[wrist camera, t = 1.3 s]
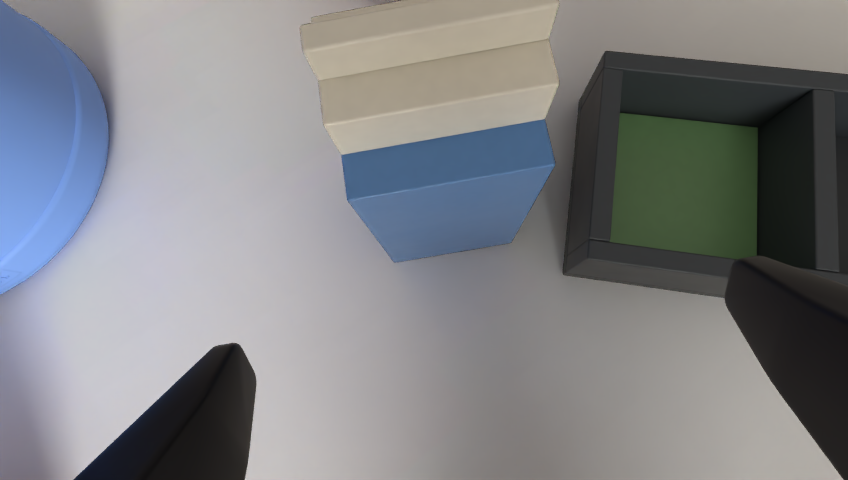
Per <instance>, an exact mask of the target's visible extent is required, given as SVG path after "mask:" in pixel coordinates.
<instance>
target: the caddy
mask: <svg viewBox="0 0 848 480" xmlns="http://www.w3.org/2000/svg"><path fill="white" fill-rule="evenodd" d="M751 256H765V257H768V258H770V259H773V260H776V261H779V262H782V263H785V264H787V265H790V266H793V267H796V268H799V269H802V270H805V271H807V272H810V273H813V274H816V275H819V276H822V277H825V278H827V279H830V280H833V281H836V282H839V283H842V284H844V285H847V286H848V74H840V73H830V72H820V71H809V70H799V69H789V68H778V67H768V66H758V65H747V64H737V63H726V62H716V61H706V60H695V59H685V58H675V57H664V56H654V55H644V54H633V53H623V52H613V51H605V52H604V54H603V56H602V58H601V60H600V62H599V64H598V66H597V68H596V70H595V72H594V73H593V75H592V77H591V79H590V81H589V83H588V85H587V87H586V89H585V91H584V93H583V95H582V97H581V98H580V100H579V107H578V118H577V128H576V139H575V149H574V160H573V170H572V181H571V191H570V202H569V212H568V223H567V233H566V244H565V254H564V265H563V275H567V276H574V277H581V278H588V279H595V280H602V281H609V282H616V283H623V284H630V285H637V286H644V287H651V288H658V289H665V290H672V291H679V292H686V293H693V294H700V295H707V296H714V297H721V298H725V291H726V287H727V283H728V279H729V274H730V270H731V266H732V264H733V263H734V261H735V260H737V259H740V258H745V257H751Z"/></svg>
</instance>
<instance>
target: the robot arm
mask: <svg viewBox="0 0 848 480" xmlns="http://www.w3.org/2000/svg"><path fill="white" fill-rule="evenodd" d="M725 303H726V306H727V308H728V310H729V312H730V313H731V315H732V317H733V318H734V320H735V322H736V323H737V325H738V327H739V329H740V330H741V332H742V334H743V335H744V337H745V339H746V340H747V342H748V344H749V345H750V347H751V349H752V351H753V352H754V354H755V356H756V357H757V359H758V361H759V362H760V364H761V366H762V367H763V369H764V371H765V372H766V374H767V375H768V377H769V378H770V380H771V382H772V383H773V384H774V386H775V387H776V389H777V390H778V392H779V393H780V394H781V396H782V397H783V398H784V400H785V401H786V402H787V404H788V405H789V407H790V408H791V409H792V411H793V412H794V413H795V415H796V416H797V417H798V419H799V420H800V421H801V423H802V424H803V425H804V427H805V428H806V429H807V431H808V432H809V434H810V435H811V436H812V438H813V439H814V440H815V442H816V443H817V444H818V446H819V447H820V448H821V450H822V451H823V452H824V454H825V455H826V456H827V458H828V459H829V460H830V462H831V463H832V465H833V466H834V467H835V469H836V470H837V471H838V473H839V474H840V475H841V477H842V478H843V479H844V480H848V286H847V285H844V284H842V283H839V282H836V281H833V280H830V279H827V278H825V277H822V276H819V275H816V274H813V273H810V272H807V271H805V270H802V269H799V268H796V267H793V266H790V265H787V264H785V263H782V262H779V261H776V260H773V259H770V258H768V257H765V256H751V257H745V258H740V259H737V260H735V261H734V263H733V264H732V266H731V270H730V274H729V279H728V283H727V287H726V291H725ZM255 393H256V376H255V373H254V370H253V368H252V366H251V365H250V363H249V361H248V359H247V357H246V355H245V353H244V351H243V349H242V348H241V346H240V345H239V344H237V343H230V344H224V345H218V346H215V347H213V348H212V349H211V350H210V351H209V352H208V353H207V354H206V355H204V356H203V357H202V358H201V359H200V360H199V361H198V362H197V363H196V364H195V365H194V366H193V367H192V368H191V369H190V370H189V371H188V372H187V373H185V374H184V375H183V376H182V377H181V378H180V379H179V380H178V381H177V382H176V383H175V384H174V385H173V386H172V387H171V388H170V389H169V390H168V391H166V392H165V393H164V394H163V395H162V396H161V397H160V398H159V399H158V400H157V401H156V402H155V403H154V404H153V405H152V406H151V407H150V408H149V409H148V410H146V411H145V412H144V413H143V414H142V415H141V416H140V417H139V418H138V419H137V420H136V421H135V422H134V423H133V424H132V425H131V426H130V427H129V428H127V429H126V430H125V431H124V432H123V433H122V434H121V435H120V436H119V437H118V438H117V439H116V440H115V441H114V442H113V443H112V444H111V445H110V446H108V447H107V448H106V449H105V450H104V451H103V452H102V453H101V454H100V455H99V456H98V457H97V458H96V459H95V460H94V461H93V462H92V463H91V464H89V465H88V466H87V467H86V468H85V469H84V470H83V471H82V472H81V473H80V474H79V475H78V476H77V477H76V478H75V479H74V480H245V475H246V470H247V465H248V457H249V449H250V440H251V431H252V421H253V412H254V402H255Z"/></svg>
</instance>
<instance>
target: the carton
mask: <svg viewBox="0 0 848 480" xmlns="http://www.w3.org/2000/svg"><path fill="white" fill-rule="evenodd" d="M559 4H560V3H559V0H402V1H396V2H391V3H386V4H380V5H375V6H369V7H364V8H359V9H353V10H348V11H342V12H337V13H332V14H326V15H321V16H315V17H312V18H311V23H309V24H304V25H301V26H300V35H301V44H302V51H303V53H304V55H305V57H306V59H307V61H308V63H309V65H310V67H311V68H312V70H313V72H314V74H315V76H316V78H317V79H318V86H319V94H320V102H321V110H322V119H323V125H324V127H325V128H326V130H327V132H328V133H329V135H330V137H331V138H332V140H333V142H334V143H335V145H336V147H337V148H338V150H339V152H340V153H341V156H342V164H343V172H344V179H345V187H346V195H347V200H348V202H349V203H350V204H351V206H352V207H353V208H354V210H355V211H356V212H357V214H358V215H359V216H360V218H361V219H362V220H363V222H364V223H365V224H366V226H367V227H368V228H369V230H370V231H371V232H372V234H373V235H374V236H375V238H376V239H377V240H378V242H379V243H380V244H381V246H382V247H383V248H384V250H385V251H386V252H387V254H388V255H389V256H390V258H391V259H392V260H393V262H401V261H407V260H413V259H419V258H425V257H431V256H437V255H443V254H449V253H454V252H460V251H466V250H472V249H478V248H484V247H490V246H496V245H502V244H508V243H511V242H512V240H513V239H514V237H515V235H516V233H517V232H518V230H519V228H520V226H521V225H522V223H523V221H524V219H525V218H526V216H527V214H528V212H529V210H530V209H531V207H532V205H533V203H534V202H535V200H536V198H537V196H538V195H539V193H540V191H541V189H542V188H543V186H544V184H545V182H546V181H547V179H548V177H549V175H550V173H551V172H552V170H553V168H554V166H555V159H554V155H553V151H552V147H551V142H550V138H549V134H548V130H547V126H546V122H545V118H546V116H547V113H548V111H549V108H550V106H551V103H552V101H553V98H554V96H555V93H556V91H557V89H558V86H559V83H560V82H559V78H558V74H557V70H556V66H555V62H554V58H553V54H552V50H551V47H550V43H549V39H548V38H549V37H550V34H551V31H552V27H553V24H554V21H555V18H556V14H557V11H558V8H559Z"/></svg>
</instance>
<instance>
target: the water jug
mask: <svg viewBox="0 0 848 480" xmlns="http://www.w3.org/2000/svg"><path fill="white" fill-rule="evenodd" d="M108 144H109V131H108V120H107V114H106V109H105V105H104V101H103V98H102V95H101V93H100V90H99V88H98V86H97V84H96V82H95V80H94V78H93V76H92V75H91V73H90V72H89V70H88V69H87V67H86V66H85V65H84V63H83V62H82V61H81V60H80V59H79V57H78V56H77V55H76V54H75V53H74V52H73V51H72V50H71V49H69V48H68V47H67V46H66V45H65V44H63V43H62V42H61V41H60V40H58V39H57V38H56V37H54V36H53V35H52V34H50V33H49V32H48V31H46V30H45V29H44V28H43V27H41V26H40V25H39V24H37V23H36V22H34V21H32V20H31V19H29V18H27V17H25V16H23V15H21V14H19V13H18V12H16V11H15V10H14V9H12V8H11V7H10V6H8V5H7V4H6V3H4V2H3V1H2V0H0V294H2V293H4V292H6V291H8V290H10V289H12V288H14V287H15V286H17V285H19V284H20V283H22V282H23V281H25V280H26V279H28V278H29V277H31V276H32V275H33V274H35V273H36V272H37V271H38V270H40V269H41V268H42V267H43V266H44V265H46V264H47V263H48V262H49V261H50V260H51V259H52V258H53V257H54V256H55V255H56V254H57V253H58V252H59V251H60V250H61V249H62V248H63V247H64V246H65V245H66V243H67V242H68V241H69V240H70V239H71V237H72V236H73V235H74V233H75V232H76V231H77V229H78V228H79V226H80V225H81V223H82V222H83V220H84V218H85V217H86V215H87V213H88V212H89V210H90V208H91V206H92V204H93V202H94V200H95V197H96V195H97V193H98V190H99V187H100V185H101V181H102V178H103V175H104V171H105V166H106V161H107V155H108Z"/></svg>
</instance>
